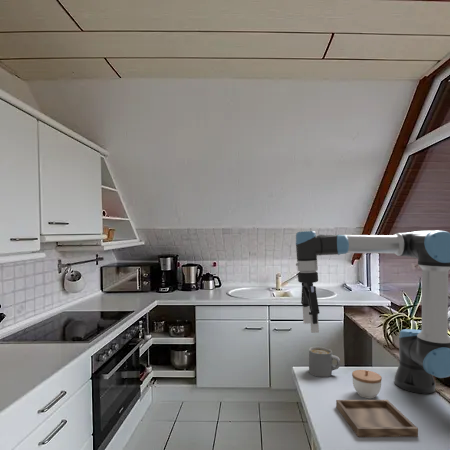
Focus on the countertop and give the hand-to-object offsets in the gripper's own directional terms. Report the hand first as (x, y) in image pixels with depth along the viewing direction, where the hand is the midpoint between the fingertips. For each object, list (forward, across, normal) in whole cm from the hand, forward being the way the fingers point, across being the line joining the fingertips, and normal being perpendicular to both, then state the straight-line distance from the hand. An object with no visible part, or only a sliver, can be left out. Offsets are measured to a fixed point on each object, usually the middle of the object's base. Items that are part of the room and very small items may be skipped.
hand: (310, 327), depth 135 cm
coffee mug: (+28, -26, +10) cm, 39 cm away
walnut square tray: (+28, +14, +17) cm, 36 cm away
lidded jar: (+29, -6, +21) cm, 36 cm away
